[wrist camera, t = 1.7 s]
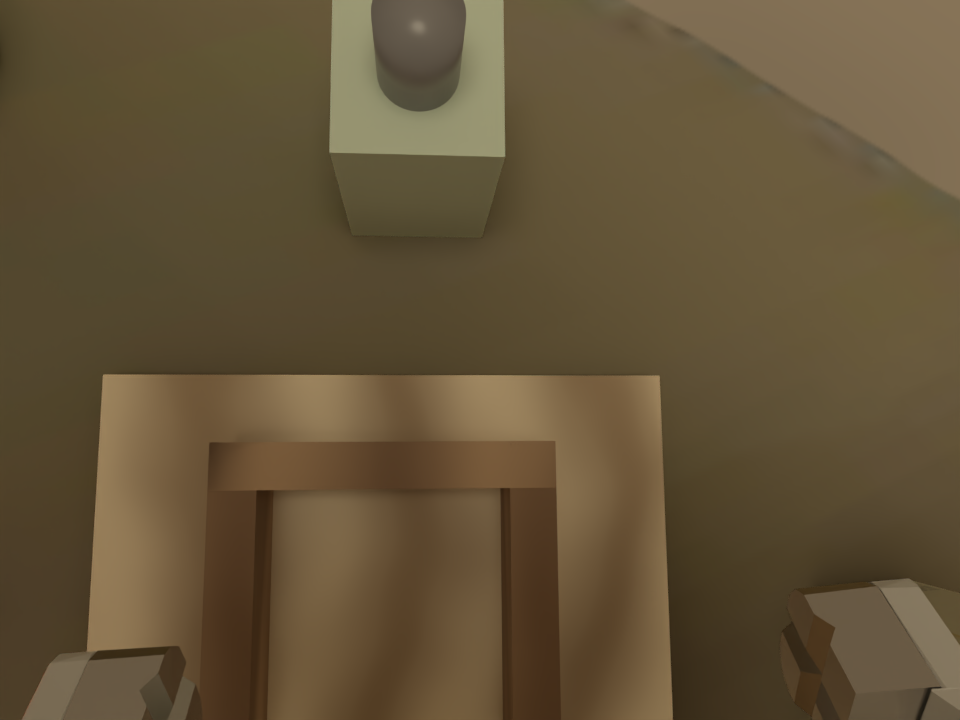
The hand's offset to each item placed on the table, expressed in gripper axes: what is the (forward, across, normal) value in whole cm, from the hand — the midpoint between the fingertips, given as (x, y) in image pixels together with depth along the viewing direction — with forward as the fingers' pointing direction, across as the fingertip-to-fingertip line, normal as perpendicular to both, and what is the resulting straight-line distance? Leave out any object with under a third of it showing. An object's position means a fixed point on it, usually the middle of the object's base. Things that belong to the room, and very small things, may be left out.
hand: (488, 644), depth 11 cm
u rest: (+13, +4, +13) cm, 19 cm away
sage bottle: (+23, +1, +1) cm, 23 cm away
